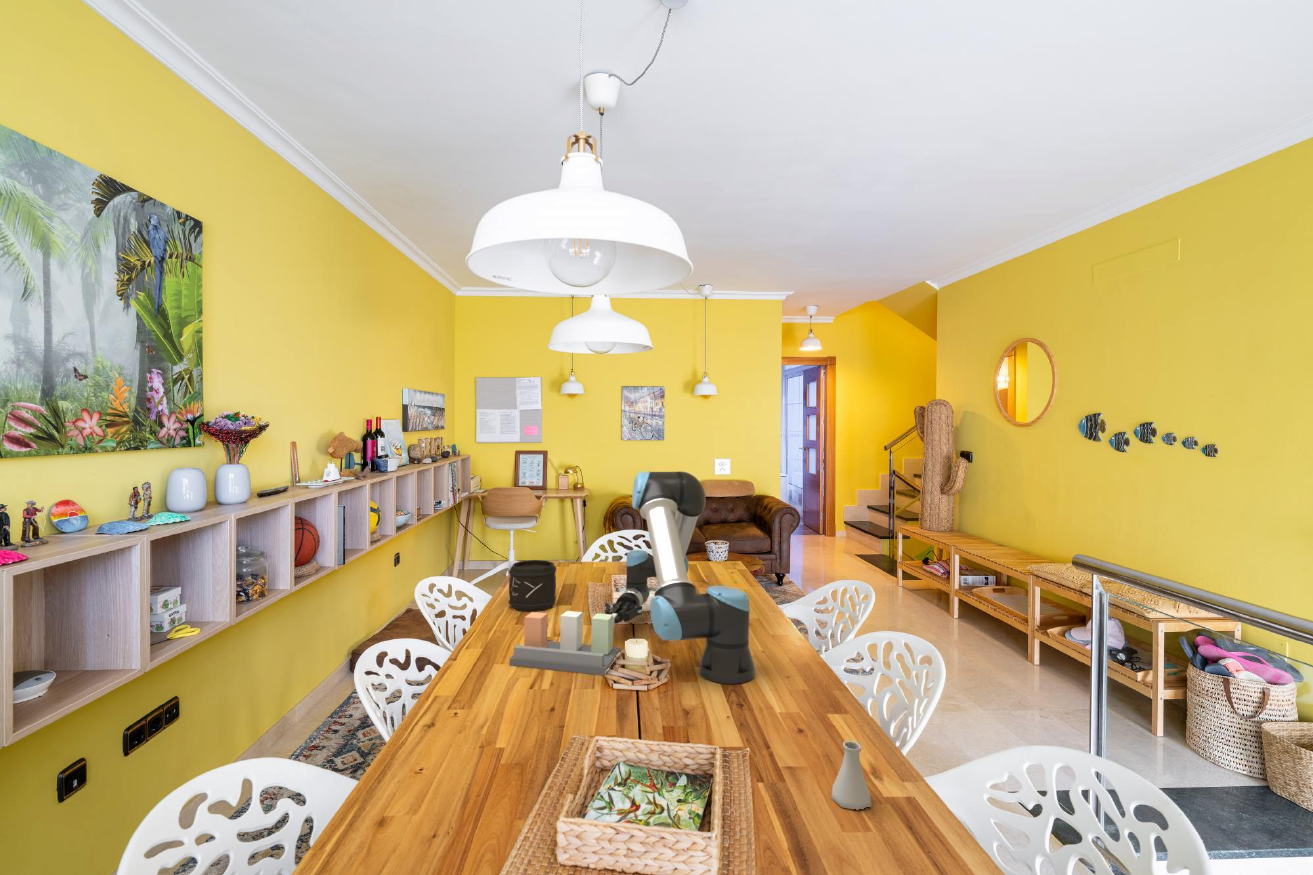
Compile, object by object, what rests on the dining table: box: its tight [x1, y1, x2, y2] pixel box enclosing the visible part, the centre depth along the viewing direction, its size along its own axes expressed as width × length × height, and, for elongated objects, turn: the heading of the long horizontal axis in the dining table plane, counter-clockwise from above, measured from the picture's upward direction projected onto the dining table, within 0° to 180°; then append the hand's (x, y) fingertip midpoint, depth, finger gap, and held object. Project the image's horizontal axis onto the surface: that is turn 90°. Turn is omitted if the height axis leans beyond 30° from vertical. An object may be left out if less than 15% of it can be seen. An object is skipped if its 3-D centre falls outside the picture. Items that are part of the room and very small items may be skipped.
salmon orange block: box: [523, 611, 549, 648], centre depth 177 cm, size 5×5×10 cm
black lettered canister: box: [508, 559, 557, 613], centre depth 228 cm, size 18×18×16 cm
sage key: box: [590, 613, 614, 655], centre depth 177 cm, size 5×5×10 cm
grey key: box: [559, 610, 584, 651], centre depth 179 cm, size 5×5×10 cm
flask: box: [831, 740, 872, 811], centre depth 111 cm, size 7×7×10 cm
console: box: [509, 640, 622, 676], centre depth 176 cm, size 28×16×5 cm, turn 77°
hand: (608, 624), depth 184 cm, fingers closed
